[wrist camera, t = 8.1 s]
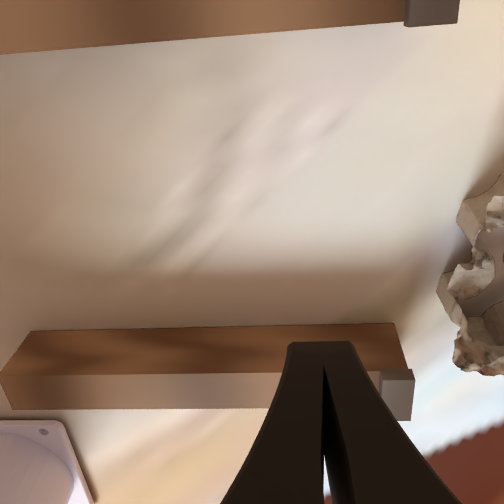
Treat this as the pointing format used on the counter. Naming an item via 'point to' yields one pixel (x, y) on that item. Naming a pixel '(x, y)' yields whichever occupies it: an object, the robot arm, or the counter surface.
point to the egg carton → (477, 287)
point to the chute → (207, 338)
